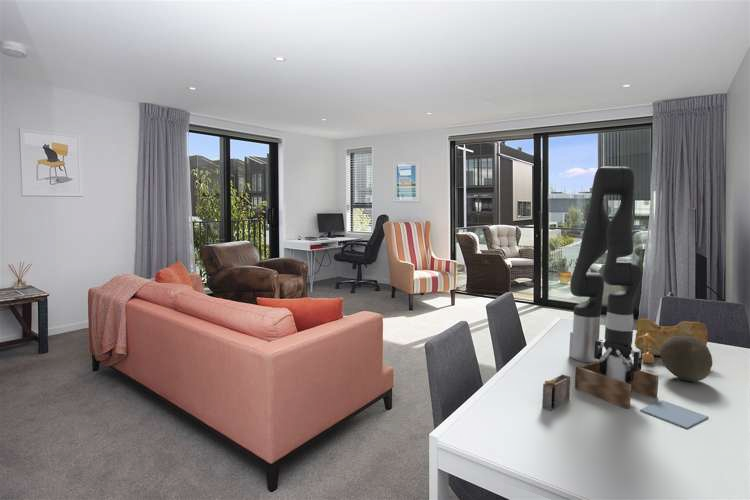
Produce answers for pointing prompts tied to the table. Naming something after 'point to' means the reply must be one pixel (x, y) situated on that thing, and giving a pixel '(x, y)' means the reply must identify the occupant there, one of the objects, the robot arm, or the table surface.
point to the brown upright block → (556, 391)
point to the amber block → (667, 333)
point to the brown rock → (686, 358)
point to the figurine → (645, 356)
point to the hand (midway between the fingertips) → (615, 377)
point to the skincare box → (616, 368)
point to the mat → (674, 414)
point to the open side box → (614, 384)
